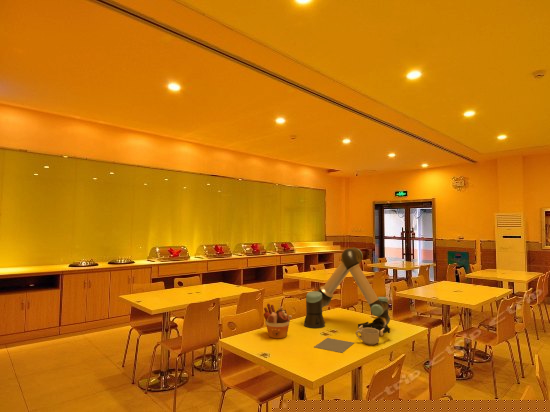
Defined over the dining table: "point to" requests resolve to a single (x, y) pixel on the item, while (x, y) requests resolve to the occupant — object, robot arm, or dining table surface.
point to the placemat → (334, 345)
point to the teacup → (369, 335)
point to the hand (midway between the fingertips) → (369, 331)
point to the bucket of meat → (276, 322)
